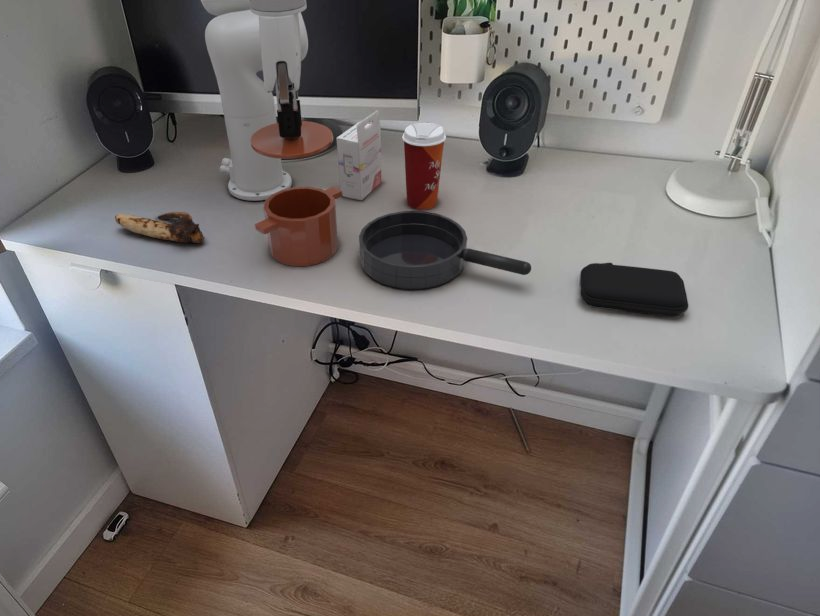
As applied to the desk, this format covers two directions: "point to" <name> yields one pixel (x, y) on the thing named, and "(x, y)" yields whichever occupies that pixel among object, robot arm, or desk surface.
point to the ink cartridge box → (360, 158)
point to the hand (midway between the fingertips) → (291, 130)
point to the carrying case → (633, 289)
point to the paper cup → (423, 163)
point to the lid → (292, 141)
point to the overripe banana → (164, 227)
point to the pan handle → (496, 261)
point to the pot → (301, 225)
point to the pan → (412, 249)
